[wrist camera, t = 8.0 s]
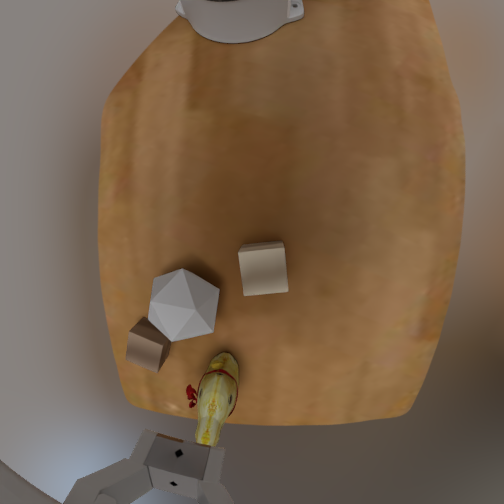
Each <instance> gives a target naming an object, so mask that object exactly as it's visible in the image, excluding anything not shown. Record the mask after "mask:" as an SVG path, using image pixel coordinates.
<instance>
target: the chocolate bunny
mask: <svg viewBox="0 0 504 504" xmlns="http://www.w3.org/2000/svg"><path fill="white" fill-rule="evenodd" d="M238 368H239V367H238V364H237V361H236V360H235V359H234V358H233V357H232V356H231V355H230V354H229V353H224V352H223V353H221V354H219V355H217V356H215V357H214V358H213V359H212V360H211V361H210V365H209V367H208V370H207V372H206V374H204V376H203V377H202V379H201V381H200V383H201V384H200V383H199V386H198V391H197V393H196V391H195V389H193V388H192V387H191V385H188V386H187V389H186V393H187V395H188V400H190V399H194V400H196V403H198V424H197V428H196V432H195V436H196V443H201V444H206V445H211V446H214V447H215V445H216V444H217V443H218V441H219V437H220V432H221V429H222V427H223V424H224V422H225V420H226V418H227V417H229V416H230V415H231V414H232V412H233V410H234V408H235V405H236V402H235V399H236V401H237V397H236V394H237V396H238V385H239V378H238ZM198 392H199V393H198ZM193 393H195V394H196V396H197V399H196V398H195V396H194V394H193ZM234 404H235V405H234ZM195 405H196V404H195V403H193V400H192V401H191V402H190V404H189V407H190V408H192V407H194V406H195ZM233 407H234V408H233ZM232 409H233V410H232Z"/></svg>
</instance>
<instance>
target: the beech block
mask: <svg viewBox="0 0 504 504" xmlns="http://www.w3.org/2000/svg"><path fill="white" fill-rule="evenodd" d="M238 255H239V263H240V270H241V278H242V285H243V293H244V296H249V295H260V294H270V293H280V292H288V281H287V270H286V259H285V249H284V245H283V241H273V242H263V243H254V244H245V245H242V246H241V248H240V250H239V252H238Z"/></svg>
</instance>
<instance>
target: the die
mask: <svg viewBox="0 0 504 504" xmlns="http://www.w3.org/2000/svg"><path fill="white" fill-rule="evenodd" d="M219 291H220V289H218V288H217V287H215V286H213V285H212V284H210V283H208V282H207V281H205V280H203V279H202V278H200V277H199V276H197V275H195V274H194V273H192V272H190V271H187V270H185V269H183V268H182V269H179V270H176V271H173V272H170V273H167V274H165V275H162V276H159V277H156V278H154V281H153V287H152V293H151V300H150V307H149V315H148V320H149V321H150V322H151V323H152V324H153V325H154V326H155V327H156V328H158V329H159V330H160V331H161V332H162V333H163V334H164V335H165V336H166V337H167V338H168V339H169V340H170V341H172V342H173V341H178V340H182V339H187V338H191V337H196V336H200V335H204V334H209V333H213V332H214V325H215V318H216V311H217V304H218V298H219Z"/></svg>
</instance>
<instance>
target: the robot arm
mask: <svg viewBox="0 0 504 504" xmlns="http://www.w3.org/2000/svg"><path fill="white" fill-rule="evenodd" d="M293 6H295V7H296V8H295V7H293ZM175 9H176V12H177V14H178V15H180V16H182V17H184V18H186V19H187V20H188V21H189V22H190V24H191V25H192V27H193V28H194V30H195V31H196V32H197V33H199V34H200V35H202V36H203V37H205V38H207V39H210V40H213V41H217V42H223V43H242V42H249V41H253V40H257V39H260V38H263V37H265V36H267V35H269V34H271V33H273V32H274V31H276V30H277V29H278V28H280V27H281V26H282V25H284V24H286V23H288V22H292V21H296V20H299V19H301V18H303V16H304V8H303V2H302V0H179V2H178V4H177V5H176V7H175ZM224 454H225V448H220V447H214V446H211V445H206V444H201V443H195V442H191V441H187V440H181V439H177V438H174V437H170V436H167V435H163V434H160V433H157V432H154V431H151V430H147V429H145V430H144V431H143V432H142V434H141V436H140V438H139V440H138V442H137V444H136V446H135V448H134V450H133V452H132V454H131V456H130V458H129V459H126V458H125V459H123V460H121V461H119V462H117V463H114V464H112V465H110V466H108V467H106V468H104V469H101V470H99V471H97V472H95V473H92V474H90V475H88V476H85V477H83V478H80V479H78V480H77V481H76V483H75V484H74V486H73V488H72V490H71V491H70V493H69V495H68V496H67V498H66V500H65V501H64V503H63V504H130V503H132V502H133V501H135V500H136V499H138V498H139V497H141V496H142V495H144V494H145V493H147V492H148V491H150V490H151V489H152V487H153V488H156V489H160V490H164V491H167V492H172V493H175V494H179V495H183V496H186V497H190V498H194V499H197V501H198V503H199V504H234V502H233V500H232V499H231V497H230V495H229V494H228V492H227V490H226V489H225V487H224V485H223V484H219V481H220V476H221V470H222V465H223V459H224ZM0 504H62V503H60V502H58V501H57V500H55V499H53V498H52V497H50V496H49V495H47V494H45V493H44V492H42V491H41V490H39V489H38V488H36V487H35V486H34V485H32V484H30V483H29V482H28V481H27V480H25V479H24V478H22V477H21V476H20V475H18V474H17V473H16V472H15V471H13V470H12V469H11V468H9V467H8V466H7V465H6V464H5V463H3V462H2V461H1V460H0Z"/></svg>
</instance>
